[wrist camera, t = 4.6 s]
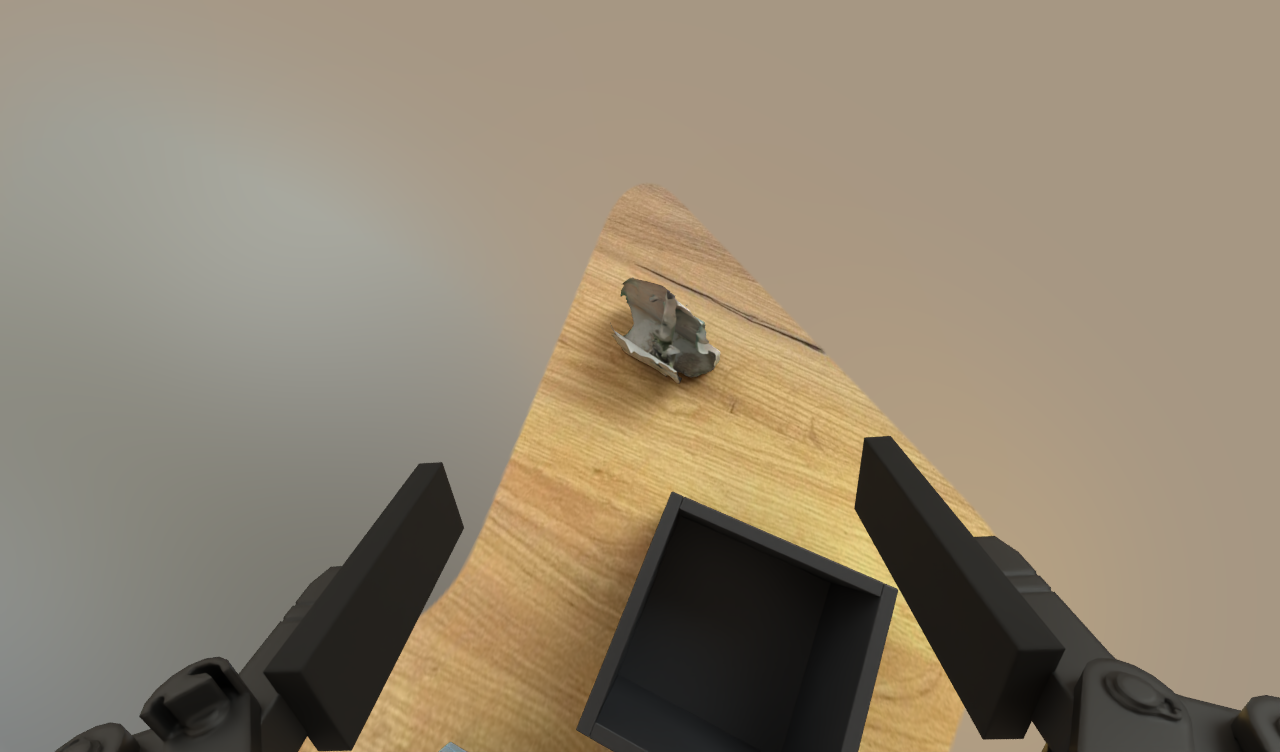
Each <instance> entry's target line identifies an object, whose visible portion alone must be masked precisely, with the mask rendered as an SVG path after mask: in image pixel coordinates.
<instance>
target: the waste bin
mask: <svg viewBox="0 0 1280 752" xmlns="http://www.w3.org/2000/svg"><path fill="white" fill-rule="evenodd" d="M897 593H898V589H896V588H894V587H892V586H889V585H887V584H884V583H883V582H880V581H878V580H876V579H873V578H871V577H869V576H866V575H864V574H862V573H859V572H857V571H855V570H853V569H850V568H848V567H846V566H843V565H841V564H839V563H836V562H834V561H832V560H829V559H827V558H825V557H822V556H820V555H818V554H816V553H813V552H811V551H809V550H806V549H804V548H802V547H799V546H797V545H795V544H792V543H790V542H788V541H786V540H783V539H781V538H779V537H776V536H774V535H772V534H769V533H767V532H765V531H762V530H760V529H758V528H756V527H753V526H751V525H749V524H746V523H744V522H742V521H739V520H737V519H735V518H732V517H730V516H728V515H726V514H723V513H721V512H719V511H716V510H714V509H712V508H709V507H707V506H705V505H702V504H700V503H698V502H696V501H693V500H691V499H689V498H686V497H684V498H683V496H682V495H679V494H677V493H675V492H671V495H670V497H669V500H668V502H667V505H666V507H665V509H664V512H663V514H662V517H661V519H660V522H659V524H658V527H657V529H656V532H655V534H654V537H653V539H652V542H651V544H650V547H649V549H648V552H647V554H646V557H645V559H644V562H643V564H642V567H641V569H640V572H639V574H638V577H637V579H636V582H635V584H634V587H633V589H632V592H631V594H630V597H629V599H628V602H627V604H626V607H625V609H624V612H623V614H622V616H621V619H620V621H619V624H618V626H617V629H616V631H615V634H614V636H613V639H612V641H611V644H610V646H609V649H608V651H607V654H606V656H605V659H604V661H603V664H602V666H601V669H600V671H599V674H598V676H597V679H596V681H595V684H594V686H593V689H592V691H591V694H590V696H589V699H588V701H587V704H586V706H585V709H584V711H583V714H582V716H581V718H580V721H579V723H578V726H577V729H576V730H577V731H579V732H581V733H582V734H584V735H586V736H588V737H589V736H590V738H591V739H593V740H594V741H596V742H598V743H600V744H601V745H603V746H605V747H607V748H608V749H610V750H612V751H614V752H858V750H859V746H860V742H861V738H862V734H863V730H864V726H865V722H866V718H867V714H868V710H869V705H870V701H871V697H872V693H873V689H874V685H875V681H876V677H877V673H878V669H879V665H880V661H881V657H882V653H883V649H884V645H885V641H886V637H887V633H888V629H889V625H890V621H891V617H892V613H893V609H894V605H895V601H896V597H897Z"/></svg>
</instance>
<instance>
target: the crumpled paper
mask: <svg viewBox="0 0 1280 752" xmlns="http://www.w3.org/2000/svg"><path fill="white" fill-rule="evenodd" d="M623 285H624V287H623V288H622V290H621V296H622V295H626V300H627V303H628V304H629V306H630V309H631V313H632V317H633V321H634V325H633V327H632V329H631V330H630V331H629V332H628V334H626V335H625V336H622V335H620V334H619V333H617V332H615V331H614V330H613V331H614V332H615V333H616V334H611V335H612V336H613V337H614V338H615V340H616V341H617V343H618V344H619V345H620V346H621V348H622V350H623V351H624V352H625V353H627V354H629V355H631V356H633V357H634V358H636V359H638V360H640V361H641V362H643V363H645V364H647V365H650V366H651V367H653V368H654V369H657V370H658V371H659V372H660V373H662V374H663V375H665V376H666V377H667V375H668V376H670V377H671V378H672V379H673V380H674V381H675V382H676V383H680V381H681V379H682V378H680V377H679V376H678V374H677V372H680V373H683V374H684V375H686V376H688V377H693V376H695V377H698V376H699V375H701V374H706V373H707V372H709V371H712V370H713V369H714V367H715V366H716V364H717V363H718V362H719V360H720V351H719V350H718V349H716V348H714V347H713V346H712V345H710V344H709V341H708V340H707V339H706V331H705V323H704V322H703V321H701V320H699V319H698V318H696V317H695V316H693V315H692V313H691V312H690V311H689V310H688V309H687V308H685V307H684V306H683V305H681V303H679V302H678V301H677V300H676V299H675V296H674V295H673V294H672V293H670V291H669V290H667V289H666V288H665V287H663V286H661V285H658V284H654V283H651V282H647V281H642V280H638V279H634V278H630V279H628V280H627V281H625V282H624V283H623ZM686 306H687V305H686ZM610 324H611V323H610ZM611 327H612V325H611ZM612 329H613V328H612ZM666 374H667V375H666Z"/></svg>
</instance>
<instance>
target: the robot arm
mask: <svg viewBox="0 0 1280 752" xmlns="http://www.w3.org/2000/svg"><path fill="white" fill-rule="evenodd" d="M854 509H855V510H856V512H857V514H858V516H859V518H860V519H861V521H862V523H863V525H864V527H865V528H866V530H867V532H868V534H869V536H870V537H871V539H872V541H873V543H874V545H875V546H876V548H877V550H878V552H879V554H880V555H881V557H882V559H883V561H884V563H885V564H886V566H887V568H888V570H889V572H890V573H891V575H892V577H893V579H894V581H895V582H896V584H897V586H898V588H899V590H900V591H901V593H902V595H903V597H904V598H905V600H906V602H907V604H908V606H909V607H910V609H911V611H912V613H913V615H914V616H915V618H916V620H917V622H918V624H919V625H920V627H921V629H922V631H923V633H924V634H925V636H926V638H927V640H928V642H929V643H930V645H931V647H932V649H933V651H934V652H935V654H936V656H937V658H938V660H939V661H940V663H941V665H942V667H943V669H944V670H945V672H946V674H947V676H948V678H949V679H950V681H951V683H952V685H953V687H954V688H955V690H956V692H957V694H958V696H959V697H960V699H961V701H962V703H963V705H964V706H965V708H966V710H967V712H968V714H969V715H970V717H971V719H972V721H973V722H974V724H975V726H976V728H977V730H978V731H979V733H980V735H981V737H982V739H1023V738H1024V736H1025V734H1026V732H1027V730H1028V728H1029V726H1030V724H1031V721H1032V722H1033V723H1034V725H1035V726H1036V728H1037V729H1038V731H1039V732H1040V734H1041V735H1042V737H1043V738H1044V740H1045V741H1046V744H1045V746H1044V748H1043V750H1042V752H1280V698H1279V697H1273V696H1268V695H1265V696H1258V697H1253V698H1251V699H1250V701H1249V702H1248V703H1247V704H1246V706H1245V707H1244V708H1243V709H1242V711H1240V710H1236V709H1232V708H1228V707H1224V706H1220V705H1216V704H1212V703H1208V702H1204V701H1200V700H1196V699H1192V698H1187V697H1184V696H1181V695H1178V694H1175V693H1174V692H1173V691H1172V690H1171V689H1170V688H1168V687H1167V686H1166V685H1164V684H1163V683H1162V682H1161V681H1159V680H1158V679H1157V678H1156V677H1154V676H1153V675H1151V674H1149V673H1147V672H1145V671H1144V670H1142V669H1140V668H1138V667H1136V666H1134V665H1131V664H1129V663H1126V662H1123V661H1120V660H1117V659H1115V658H1114V657H1113V656H1112V655H1111V654H1110V653H1109V652H1108V651H1107V649H1106V648H1105V647H1104V646H1103V645H1102V644H1101V643H1100V642H1099V641H1098V640H1097V639H1096V637H1095V636H1094V635H1093V634H1092V633H1091V632H1090V631H1089V630H1088V628H1087V627H1086V626H1085V625H1084V624H1083V623H1082V622H1081V621H1080V620H1079V618H1078V617H1077V616H1076V615H1075V614H1074V613H1073V612H1072V611H1071V610H1070V608H1069V607H1068V606H1067V605H1066V604H1065V603H1064V602H1063V601H1062V600H1061V599H1060V598H1059V596H1058V595H1057V594H1056V593H1055V592H1052V591H1051V587H1049V585H1048V584H1047V583H1046V582H1045V581H1044V580H1043V579H1042V578H1041V577H1040V576H1038V575H1037V574H1036V571H1035V570H1034V569H1033V568H1032V567H1031V565H1030V564H1029V563H1028V562H1027V561H1026V560H1025V559H1024V558H1023V557H1022V555H1021V554H1020V553H1019V552H1018V551H1016V550H1015V549H1013V548H1012V547H1010V546H1009V545H1007V544H1006V543H1004V542H1003V541H1001V540H1000V539H998V538H997V537H995V536H985V537H973V536H972V534H971V533H970V532H969V531H968V529H967V528H966V527H965V526H964V525H963V523H962V522H961V521H960V520H959V519H958V517H957V516H956V515H955V514H954V512H953V511H952V510H951V509H950V508H949V506H948V505H947V504H946V503H945V502H944V500H943V499H942V498H941V497H940V495H939V494H938V493H937V492H936V491H935V489H934V488H933V487H932V486H931V485H930V483H929V482H928V481H927V480H926V478H925V477H924V476H923V475H922V474H921V472H920V471H919V470H918V469H917V468H916V466H915V465H914V464H913V463H912V461H911V460H910V459H909V458H908V457H907V455H906V454H905V453H904V452H903V451H902V449H901V448H900V447H899V446H898V444H897V443H896V442H895V441H894V440H893V438H892V437H891V436H883V437H866V438H864V444H863V451H862V458H861V465H860V473H859V480H858V487H857V494H856V501H855V508H854ZM463 529H464V526H463V523H462V520H461V517H460V514H459V511H458V508H457V505H456V502H455V499H454V496H453V493H452V490H451V487H450V484H449V481H448V478H447V475H446V472H445V469H444V466H443V463H442V462H440V463H423V464H419V465H418V466H417V467H416V469H415V470H414V471H413V472H412V474H411V475H410V477H409V478H408V479H407V480H406V482H405V483H404V484H403V486H402V487H401V489H400V490H399V491H398V492H397V494H396V495H395V497H394V498H393V499H392V500H391V502H390V503H389V504H388V506H387V507H386V509H385V510H384V511H383V512H382V514H381V515H380V517H379V518H378V519H377V520H376V522H375V523H374V525H373V526H372V527H371V529H370V530H369V531H368V532H367V534H366V535H365V536H364V538H363V539H362V541H361V542H360V543H359V544H358V546H357V547H356V548H355V550H354V551H353V553H352V554H351V555H350V557H349V558H348V559H347V560H346V562H345V563H344V565H343V566H337V567H330V568H329V569H328V570H326V571H325V572H324V573H323V574H322V575H320V576H319V577H318V578H317V579H315V580H314V581H313V582H312V583H311V584H310V585H309V586H308V587H307V589H306V590H305V591H304V592H303V594H302V595H301V596H300V597H299V599H298V600H297V601H296V605H295V606H292V607H291V609H290V610H289V611H288V612H287V614H286V615H285V616H284V620H283V621H282V622H280V623H279V624H278V625H277V626H276V628H275V629H274V630H273V631H272V633H271V634H270V635H269V636H268V638H267V639H266V640H265V642H264V643H263V644H262V645H261V647H260V648H259V649H258V650H257V652H256V653H255V654H254V656H253V657H252V658H251V659H250V660H249V662H248V663H247V664H246V666H245V667H244V668H243V669H242V671H241V672H240V673H239V674H238V673H237V672H236V671H235V669H234V668H233V667H232V665H231V664H230V663H229V661H228V660H226V659H224V658H221V657H213V658H207V659H204V660H201V661H198V662H196V663H194V664H191V665H189V666H187V667H186V668H184V669H182V670H181V671H179V672H178V673H176V674H175V675H173V676H172V677H170V678H169V679H168V680H167V681H166V682H165V683H164V684H162V685H161V686H160V687H159V688H158V689H157V690H156V691H155V692H154V693H153V694H152V696H151V697H150V698H149V699H148V701H147V702H146V703H145V705H144V707H143V709H142V711H141V714H140V718H141V719H143V721H144V722H145V723H146V724H147V725H148V726H149V727H150V728H151V729H149V730H146V731H143V732H140V733H137V734H134V735H131V734H130V733H129V732H128V731H127V730H126V729H125V728H124V727H123V726H122V725H121V724H116V723H107V724H103V725H99V726H96V727H93V728H91V729H89V730H87V731H86V732H83V733H81V734H79V735H77V736H76V737H74V738H73V739H71V740H70V741H69V742H67V743H66V744H64V745H63V746H62V747H60V748H59V749H57V750H56V751H55V752H298V751H299V749H300V747H301V746H302V744H303V742H304V741H305V739H306V737H307V736H308V737H309V739H310V740H311V742H312V743H313V745H314V746H315V747H316V749H317V750H318V751H351V750H352V749H353V747H354V745H355V743H356V741H357V739H358V737H359V735H360V733H361V731H362V729H363V727H364V725H365V723H366V721H367V719H368V717H369V715H370V713H371V711H372V709H373V707H374V705H375V703H376V701H377V699H378V697H379V695H380V693H381V691H382V689H383V687H384V685H385V683H386V681H387V679H388V677H389V675H390V674H391V672H392V670H393V668H394V666H395V664H396V662H397V660H398V658H399V656H400V654H401V652H402V650H403V648H404V646H405V644H406V642H407V640H408V638H409V636H410V634H411V632H412V630H413V628H414V626H415V624H416V622H417V620H418V618H419V616H420V614H421V612H422V610H423V608H424V606H425V604H426V602H427V600H428V598H429V596H430V594H431V592H432V590H433V588H434V586H435V584H436V582H437V580H438V578H439V576H440V574H441V572H442V570H443V568H444V566H445V564H446V563H447V561H448V559H449V556H450V555H451V552H452V551H453V549H454V547H455V544H456V543H457V541H458V539H459V537H460V535H461V533H462V531H463Z"/></svg>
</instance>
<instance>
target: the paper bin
mask: <svg viewBox="0 0 1280 752" xmlns="http://www.w3.org/2000/svg"><path fill="white" fill-rule="evenodd" d="M439 752H466V751H465V750H463V749H462V748H460V747H458V746H457V745H455V744H453V743H452V742H449V743H448V744H447V745H446V746H445V747H443V748H442V749H441V750H440V751H439Z"/></svg>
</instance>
